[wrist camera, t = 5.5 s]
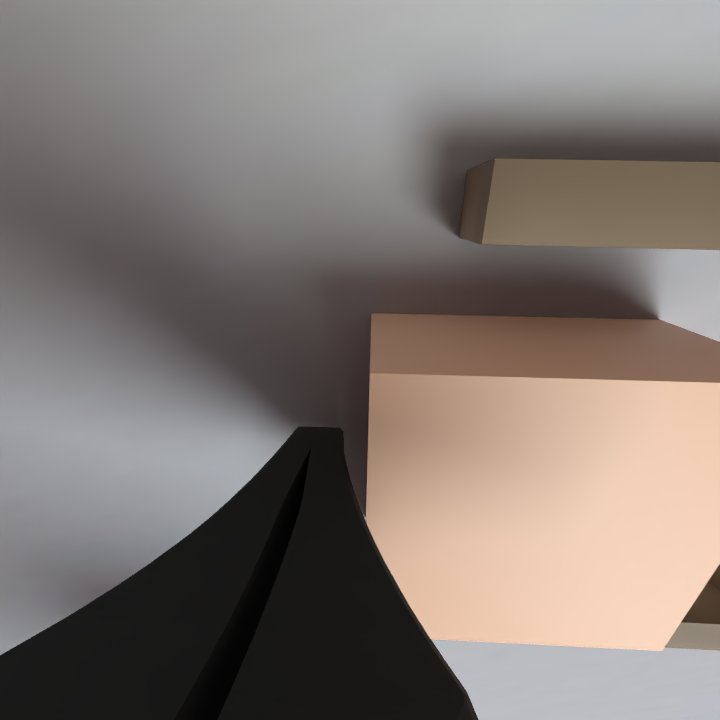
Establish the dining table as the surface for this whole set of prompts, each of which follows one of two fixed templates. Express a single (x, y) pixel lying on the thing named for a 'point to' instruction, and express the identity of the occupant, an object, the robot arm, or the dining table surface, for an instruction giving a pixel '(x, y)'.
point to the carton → (545, 475)
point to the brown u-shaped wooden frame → (604, 245)
